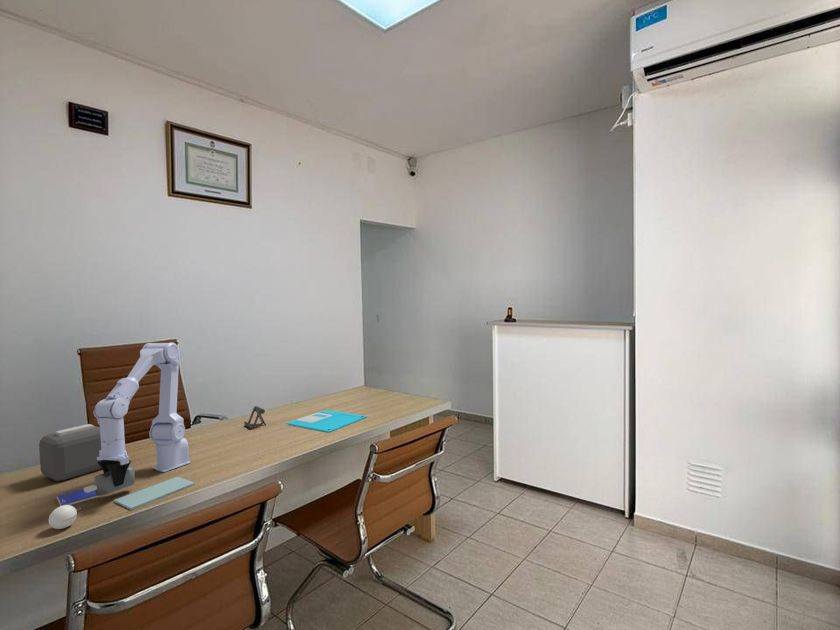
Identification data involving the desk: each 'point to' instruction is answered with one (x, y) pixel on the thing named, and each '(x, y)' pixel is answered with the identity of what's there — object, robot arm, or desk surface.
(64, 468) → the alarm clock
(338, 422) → the square teal disk
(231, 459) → the desk surface
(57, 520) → the white egg
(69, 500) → the hard drive
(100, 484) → the plug
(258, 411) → the portable electronic device stand
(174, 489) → the mat
